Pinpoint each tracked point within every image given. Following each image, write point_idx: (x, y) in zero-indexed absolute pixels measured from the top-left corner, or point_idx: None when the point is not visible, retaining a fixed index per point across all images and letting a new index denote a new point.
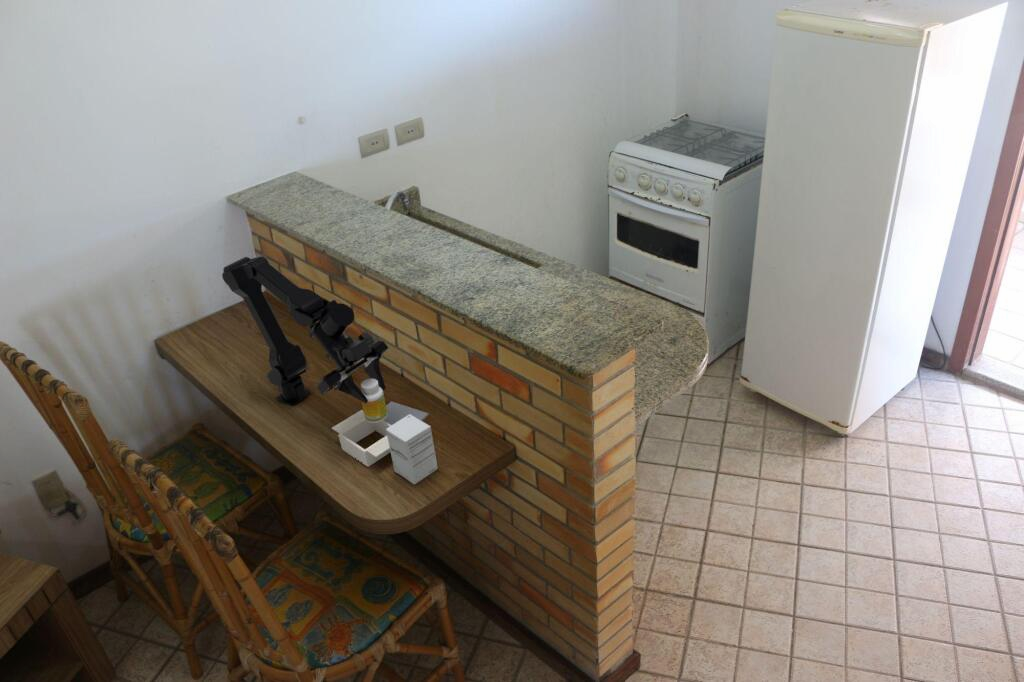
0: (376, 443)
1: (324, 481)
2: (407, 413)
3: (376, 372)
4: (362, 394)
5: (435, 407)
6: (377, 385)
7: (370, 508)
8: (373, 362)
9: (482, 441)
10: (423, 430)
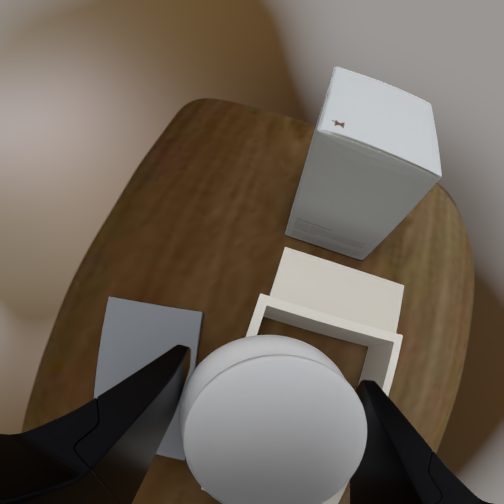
0: (356, 325)
1: (447, 401)
2: (123, 360)
3: (108, 441)
4: (390, 419)
5: (78, 297)
6: (259, 356)
7: (457, 247)
8: (18, 499)
9: (184, 135)
10: (363, 75)
